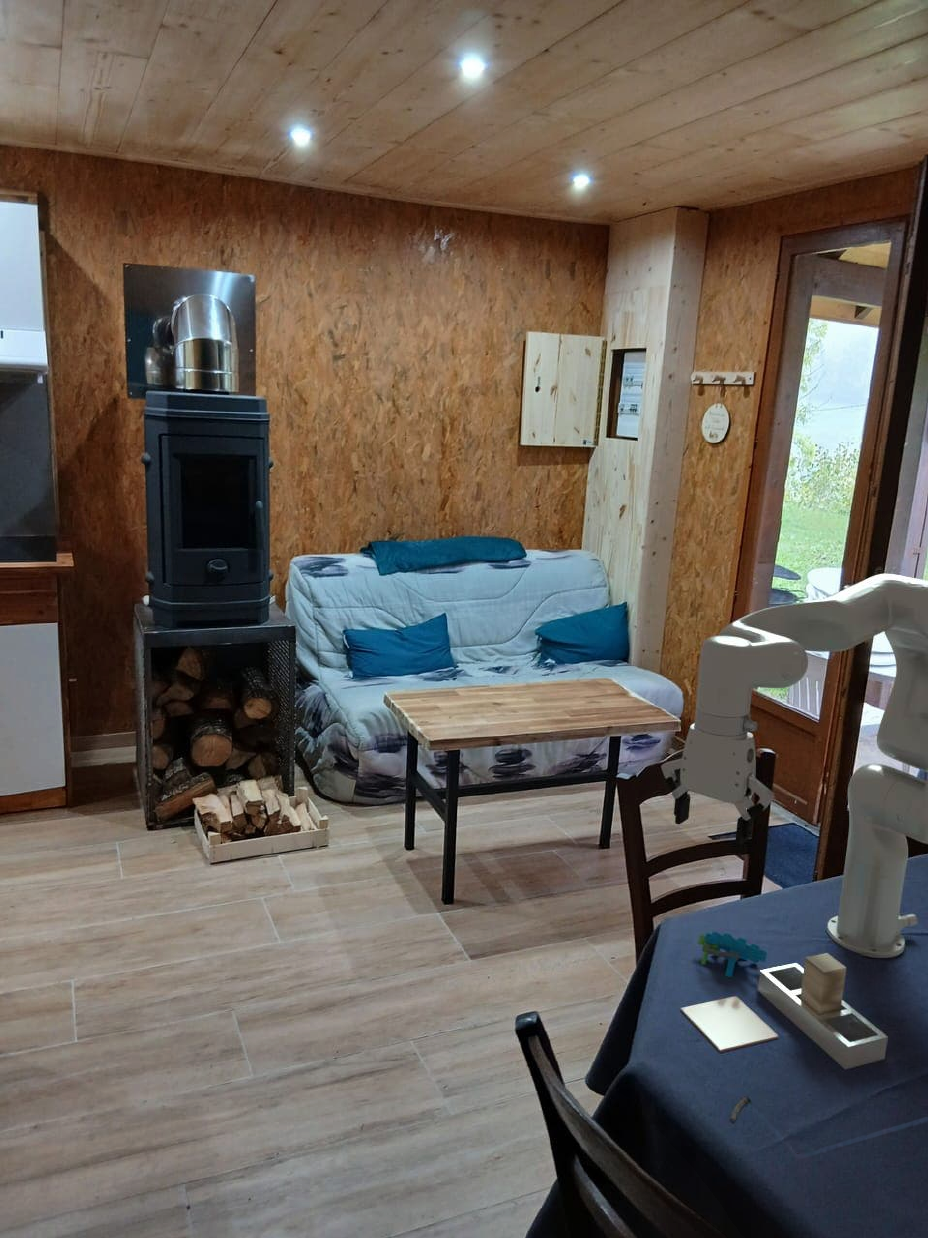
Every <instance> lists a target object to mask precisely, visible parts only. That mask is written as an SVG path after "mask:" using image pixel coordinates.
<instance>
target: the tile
mask: <svg viewBox="0 0 928 1238" xmlns="http://www.w3.org/2000/svg"><path fill="white" fill-rule="evenodd" d="M680 1011H681V1012H682V1013H683V1014H684V1015H685V1017H686V1018H687V1019H688V1020H689V1021H690V1022H691V1023H692V1024H693V1025H694V1026H695V1027H696V1028H697V1029H698V1030H699V1031H700V1032H701V1034H702V1035H704V1036H705V1038H706V1039H708V1041H709V1042H710V1043H711V1044H712V1045H713V1046H714V1047H715V1048H716V1049H717V1050H718V1052H720V1053H721V1052H726V1051H730V1050H734V1049H739V1048H742V1047H747V1046H750V1045H755V1044H759V1043H764V1042H767V1041H771V1040H775V1039H778V1038H779V1035H778V1034H777V1032H776V1031H774V1030H773V1029H772V1028H771V1027H770V1026H769V1025H768V1024H767V1023H766V1022H764V1021H763V1019H762V1018H760V1017H759V1016H758V1015H757V1014H756V1013H755V1012H754V1011H753V1010H752V1009H751V1008H749V1007H748V1006H747V1004H745V1003H744V1001H742V1000H741V999H740V997H738V996H737V995H734V996H730V997H726V998H721V999H716V1000H711V1001H706V1002H703V1003H702V1002H701V1003H697V1004H693V1005H689V1006H684V1007H680Z"/></svg>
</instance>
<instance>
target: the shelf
mask: <svg viewBox="0 0 928 1238" xmlns="http://www.w3.org/2000/svg"><path fill="white" fill-rule="evenodd" d="M803 973H804V967H803V966H801V965H800V964H798V963H797V962H794V963H790V964H785V965H781V966H775V967H771V968H766V969H762V970H759V976H758V977H759V978H758V986H757V992H758V993H759V994H760V995H762V996H763V997H764V998H765V1000H767V1001H768V1002H769V1003H771V1004H772V1005H773V1007H775V1008H776V1009H777V1010H779V1011H780V1013H782V1014H783V1015H784V1016H785V1017H786V1018H787V1019H788V1020H790V1021H791V1023H793V1024H794V1025H795V1026H796V1027H797V1028H799V1029H800V1031H802V1032H803V1033H804V1034H805V1035H806V1036H807V1037H808V1038H810V1039H811V1041H813V1042H814V1043H815V1044H816V1045H817V1046H818V1047H820V1048H821V1049H822V1050H823V1052H825V1053H826V1054H827V1055H828V1056H830V1057H831V1058H832V1059H833V1060H834V1061H835V1062H836V1063H838V1065H840V1067H842V1068H843V1070H849V1069H852V1068H856V1067H859V1066H864V1065H867V1064H871V1063H875V1062H879V1061H882V1060H885V1058H886V1051H887V1046H888V1045H887V1044H888V1038H889V1037H888V1036H887V1035H886V1034H885V1033H884V1032H883V1031H881V1030H880V1029H879V1028H878V1027H877V1026H875V1025H874V1024H873V1023H871V1022H870V1021H869V1020H868V1019H867V1018H866V1017H864V1016H863V1015H861V1014H860V1013H859V1012H858V1011H857V1010H855V1009H854V1008H853V1007H851V1005H849V1004H848V1003H847V1002H846V1001H844V1000H843V999H842V1004H841V1011H837V1012H832V1013H828V1014H824V1015H820V1016H818V1015H817V1014H816V1013H815V1012H814V1011H813V1010H811V1009H810V1008H809V1007H808V1006H807V1005H806V1004H804V1003H803V1002H802V1001H801V1000H800V996H801V988H802V981H803Z"/></svg>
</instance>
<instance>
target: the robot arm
mask: <svg viewBox="0 0 928 1238" xmlns="http://www.w3.org/2000/svg"><path fill="white" fill-rule="evenodd" d="M882 633H884V635H885V637H886V639H887V641H888V643H889V645H890V647H891V649H892V652H893V655H894V656H893V657H894V660H895V666H896V671H895V678H894V682H893V685H892V688H891V692H890V694H889V697H888V699H887V703H886V706H885V708H884V712H883V714H882V717H881V720H880V724H879V727H878V730H877V734H876V745H877V748H878V749H879V751H880V752H881V753H882V754H883V755H885V756H887V757H888V758H890V759H893V760H896V761H898V762H900V763H902V764H905V765H908V766H910V767H912V768H915V769H918V770H921V771H922V772H926V773H928V580H927V579H921V578H917V577H910V576H906V575H900V574H894V573H880V574H875V575H872V576H870V577H868V578H866V579H864V580H861V581H859V582H857V583H855V584H853V585H851V586H847V587H846V588H844V589H842V590H840V591H838V592H835V593H833V594H831V595H828V596H826V597H824V598H822V599H817V600H809V601H808V600H807V601H802V602H797V603H789V604H784V605H778V606H772V607H768V608H764V609H761V610H756V611H754V612H752V613H749V614H747V615H745V616H743V617H741V618H738V619H736V620H734V621H732V622H731V623H729V624H727V625H726V626H725V627H724V628H723V629H722V630H721V631H720V632H719V633H718V634H717V635H714V636H710V637H708V638H706V639H704V641H703V642H702V645H701V647H700V648H701V649H700V656H699V657H700V658H699V666H698V667H699V668H698V679H697V692H696V703H695V713H694V714H695V715H694V722H693V723H692V724H691V725H690V726H689V727H690V728H689V730H688V733H687V735H686V739H685V743H684V746H683V747H684V748H683V751H682V757H681V758H679V759H675V760H671V761H666V762H665V763H663V764H661V766H660V768H661V770H662V772H663V773H662V774H663V776H664V778H665V783H666V785H667V787H668V788H669V789H670V791H671V796H672V798H673V799H674V805H673V815H674V816H675V817H674V818H675V820H674V824H676V825H682V824H683V823H684V822H686V821H688V819H689V817H690V809H691V807H690V806H691V794H689V793H688V792H691V793H695V794H698V795H702V796H705V797H708V798H712V799H713V800H714V799H715V800H718V801H720V802H721V801H722V802H724V803H728V804H731V805H734V806H735V808H736V810H737V811H738V813H739V815H740V816H739V817H738V819H737V822H736V833H735V841H734V842H735V843H736V845H739V846H741V845H742V844H744V843H745V842H746V841H747V840H749V839H750V838H751V837H752V835H753V827H754V818H755V816H757V815H758V814H760V813H762V812H763V811H764V810H766V809H767V808H768V806H769V805H770V804H771V802H772V801H773V800H774V798H775V793H774V792H773V791H772V790H771V789H769V788H768V787H767V786H766V785H765V784H763V782H761V781H759V780H758V779H757V777H756V747H755V738H754V734H753V733H751V732H756V731H757V730H758V725H759V723H758V721H753V719H752V718H751V716H752V714H751V713H750V712H751V701H752V691H753V689H755V688H762V689H763V688H764V689H785V688H789V687H793V685H795V684H797V683H798V682H800V680H802V679H803V678H804V676H805V674H806V673H807V669H808V667H809V657H808V654H807V652H817V653H819V652H820V653H825V652H826V653H827V652H828V653H829V652H843V651H847V650H850V649H852V648H854V647H855V646H857V645H859V644H861V643H863V642H867V640H870V639H871V638H873V637H875V636H877V635H879V634H882ZM679 769H680V771H679V777H678V776H677V775H676V772H675V771H677V770H679ZM754 793H755V794H756V795H757V796H758V797H759V799H758V801H757V802H756V804H755V803H754V801H752V798H751V796H753V794H754ZM847 803H848V805H847V806H848V812H849V813H848V815H849V816H848V817H849V827H848V828H849V829H848V836H847V837H848V838H847V847H846V853H845V854H846V855H845V860H844V861H845V862H844V867H843V869H844V870H843V877H842V884H841V892H840V898H839V899H840V900H839V907H838V915H836V916H834V917H832V918H830V919H829V920H828V922H827V924H826V933H827V934H828V935H829V937H830V939H831V940H833V941H834V942H835V943H837V944H838V945H839V946H841V947H843V949H844V948H845V949H847V950H849V951H850V952H854V953H857V954H859V955H860V956H864V957H868V958H873V959H874V958H875V959H890V958H895V957H897V956H899V955H901V954H902V953H903V952H904V951H905V946H906V940H905V937H904V936H903V935H902V934H901V931H903V929H905V927H912V926H916V925H917V924H918V917H917V916H916V914H914V913H909V914H904V915H902V916H901V913H900V911H901V905H902V899H903V890H904V885H905V878H906V877H905V876H906V871H907V870H906V869H907V865H908V858H909V846H908V840H907V837H909V838H910V839H913V840H915V841H917V842H920V843H923V844H926V845H928V774H926V780H925V779H922V778H920V777H918V776H915V775H913V774H911V773H909V772H906V771H903V770H900V769H898V768H895V767H892V766H889V765H886V764H881V763H869V764H868V763H867V764H865V765H862V766H860V767H859V768H858V769H857V770H855V771H854V773H853V774H852V775H851V777H850V779H849V783H848V787H847Z"/></svg>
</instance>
